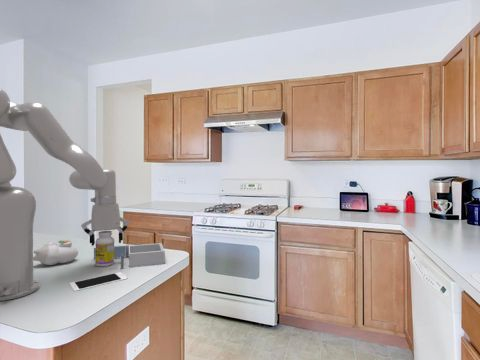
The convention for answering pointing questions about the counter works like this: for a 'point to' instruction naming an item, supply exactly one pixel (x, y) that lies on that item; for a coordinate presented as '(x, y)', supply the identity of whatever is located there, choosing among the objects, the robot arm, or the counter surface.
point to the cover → (118, 251)
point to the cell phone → (97, 281)
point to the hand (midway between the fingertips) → (106, 243)
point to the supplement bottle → (104, 249)
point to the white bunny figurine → (56, 253)
